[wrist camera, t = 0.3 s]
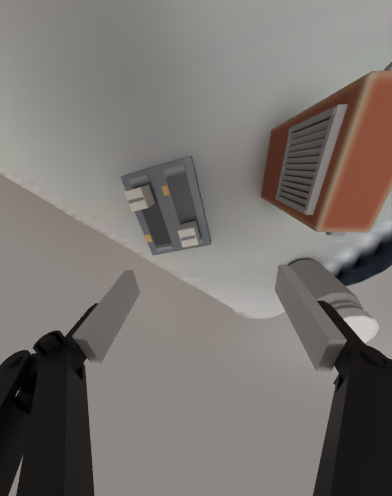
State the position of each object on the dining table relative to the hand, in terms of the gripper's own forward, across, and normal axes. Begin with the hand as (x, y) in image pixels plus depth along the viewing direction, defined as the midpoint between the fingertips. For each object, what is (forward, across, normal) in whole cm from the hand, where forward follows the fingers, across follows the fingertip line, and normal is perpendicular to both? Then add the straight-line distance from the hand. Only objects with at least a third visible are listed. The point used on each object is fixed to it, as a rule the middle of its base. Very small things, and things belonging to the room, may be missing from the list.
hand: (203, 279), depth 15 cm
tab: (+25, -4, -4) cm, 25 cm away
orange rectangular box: (+27, +15, +8) cm, 32 cm away
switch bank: (+26, -9, 0) cm, 28 cm away
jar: (+27, +24, -19) cm, 41 cm away
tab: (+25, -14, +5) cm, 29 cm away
